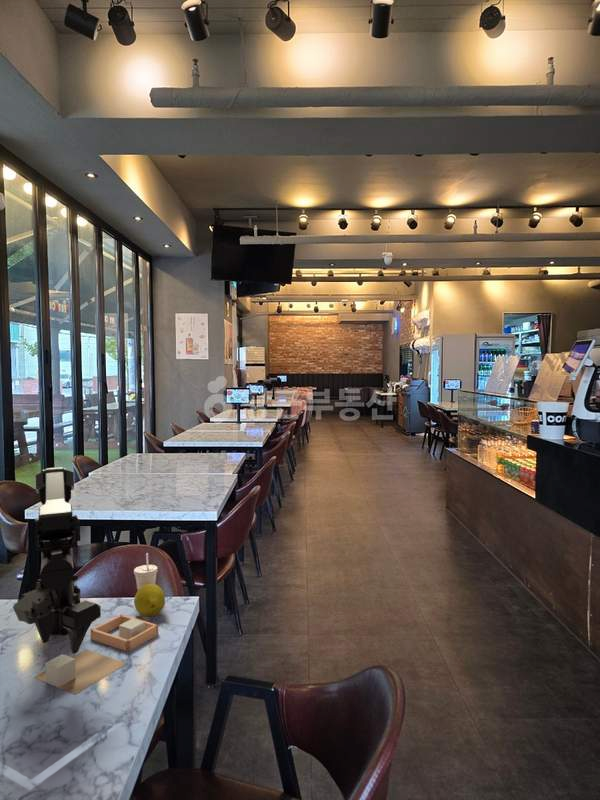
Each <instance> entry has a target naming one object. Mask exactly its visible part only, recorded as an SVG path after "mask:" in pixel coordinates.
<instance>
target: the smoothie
mask: <svg viewBox="0 0 600 800" xmlns="http://www.w3.org/2000/svg"><path fill="white" fill-rule="evenodd" d="M145 560H146V561H145V563H146V564H143V565H139V566H136V567H135V568H134V569H133V574H134V575H135V582H136V589H137V591H138V590H139V589H140V588H141V587H142V586H144V585H146V584H155V585H156V581H157V573H158V572H159V571H158V566H157V565H155V564H149V553H148V552H146V554H145Z"/></svg>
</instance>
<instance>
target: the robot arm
mask: <svg viewBox="0 0 600 800" xmlns="http://www.w3.org/2000/svg"><path fill="white" fill-rule="evenodd" d="M73 490H75V473H74V471H71V470H69V469H67V468H66V467H63V466H60V467H46V468H45V469H42V471H41V472H39V473H38V474H36V475H35V492H36V494H39V502H40V503H41V504H42V505H41V506H40V507H39V508H38V517H37V518H34V553H40V554H41V565H40V574H39V575H40V576H39V579H37V581H36V584H35V586H36V587H35V589H33V590H31V591H28V592H26V593H23V594H21V595H20V597H18V600H17V602H16V603H14V604H13V606H12V608H13V611H14V613H15V614H16V617H17V619H18V622H24V623H26V624H28V625H33V624H34V625H35V626H36V630H37V631H38V634H39V636H40V637H39V638H40V639H41V642H42V644H47V643H48V642H49V641H50V637H51V635H52V636H59V635H60V636H67V635H69V636H68V637H69V643H70V646H69V647H70V649H71V650H70V651H71V654H72V655H76V654H78V653H79V650H80V649H81V646H82V644H83V641H84V639H85V637H86V634H87V632H88V630H89V628H90V627H91V625H92V624H93V622H95V621H97V619H100V618H101V617H102V613H101V612H102V610H101V609H102V608H101V607H102V606H100V605H99V604H98V603H96V602H93V601H89V600H83V601H81V588H79V586H78V583H75V581H77V580H79V579H78V574H76V573H75V571H74V561H73V560H74V559H73V548H78V547H79V546H78V542H81V528H80V527H81V526H80V518H78V515H77V513H75V514H74V513H73V507H72V504H70V500H71V499H72V491H73ZM39 542H40V543H39Z"/></svg>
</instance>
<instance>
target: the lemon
mask: <svg viewBox="0 0 600 800" xmlns="http://www.w3.org/2000/svg"><path fill="white" fill-rule="evenodd" d="M133 600H134V601H133V603H134V607H135V609H136V612H137V613H138V614H139V615H141V616H143V617H146V618H148V617H151V618H152V617H154V616H156V615H158V614H159V613H161V611H162V610H163V609H164V607H165V605H166V604H165V603H166V596H165V593H164V591H163V589H162V588H161V587H160V586H159V585H158V584H156V583H155V584H146V585H144V586H142V587H141V588H140V589H139V590H138V589H137V592H136V593H135V596H134V599H133Z"/></svg>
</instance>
